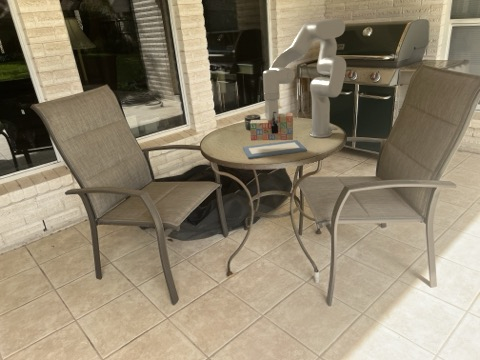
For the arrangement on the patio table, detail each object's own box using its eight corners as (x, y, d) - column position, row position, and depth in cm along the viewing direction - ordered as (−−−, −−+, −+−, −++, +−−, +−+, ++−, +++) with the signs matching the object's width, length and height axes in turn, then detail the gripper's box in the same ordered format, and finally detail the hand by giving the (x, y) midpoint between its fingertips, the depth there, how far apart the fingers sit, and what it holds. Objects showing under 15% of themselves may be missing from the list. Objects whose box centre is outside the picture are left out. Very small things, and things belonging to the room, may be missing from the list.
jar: (255, 125, 237) (254, 113, 234) (264, 128, 229) (263, 116, 226) (242, 128, 233) (241, 116, 230) (250, 131, 225) (249, 119, 222)
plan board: (297, 141, 200) (297, 139, 200) (306, 151, 186) (306, 149, 185) (242, 148, 197) (242, 146, 196) (248, 158, 182) (248, 156, 182)
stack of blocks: (250, 141, 188) (249, 117, 183) (251, 137, 193) (250, 114, 188) (293, 139, 184) (292, 115, 179) (293, 136, 190) (292, 112, 185)
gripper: (260, 93, 187) (261, 127, 195) (268, 100, 172) (269, 136, 179) (274, 92, 188) (275, 125, 195) (283, 98, 173) (284, 134, 180)
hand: (272, 130), depth 187 cm, fingers closed on stack of blocks, 7 cm apart
